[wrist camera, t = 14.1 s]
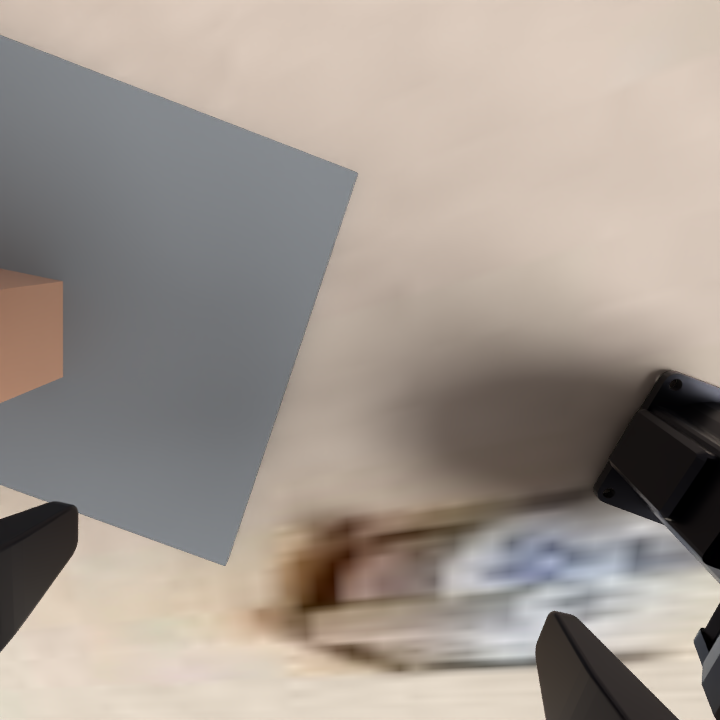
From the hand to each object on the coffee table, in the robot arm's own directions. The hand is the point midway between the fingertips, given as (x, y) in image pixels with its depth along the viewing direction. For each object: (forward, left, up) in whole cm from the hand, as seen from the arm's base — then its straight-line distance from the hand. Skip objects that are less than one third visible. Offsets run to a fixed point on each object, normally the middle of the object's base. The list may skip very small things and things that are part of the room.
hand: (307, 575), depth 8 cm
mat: (+11, +2, -12) cm, 16 cm away
